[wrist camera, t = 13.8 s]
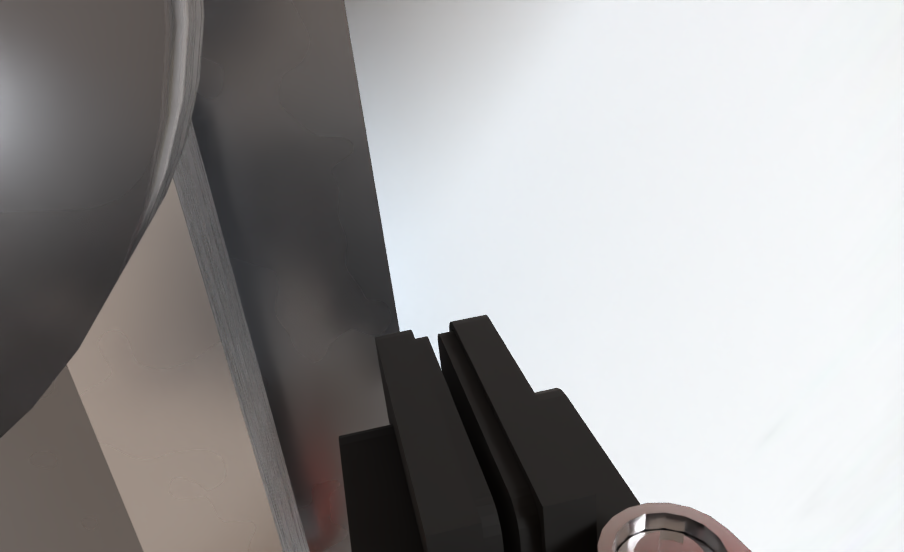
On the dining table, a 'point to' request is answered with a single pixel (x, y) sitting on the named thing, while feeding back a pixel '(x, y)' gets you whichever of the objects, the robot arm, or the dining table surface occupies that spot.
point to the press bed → (136, 202)
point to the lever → (186, 390)
